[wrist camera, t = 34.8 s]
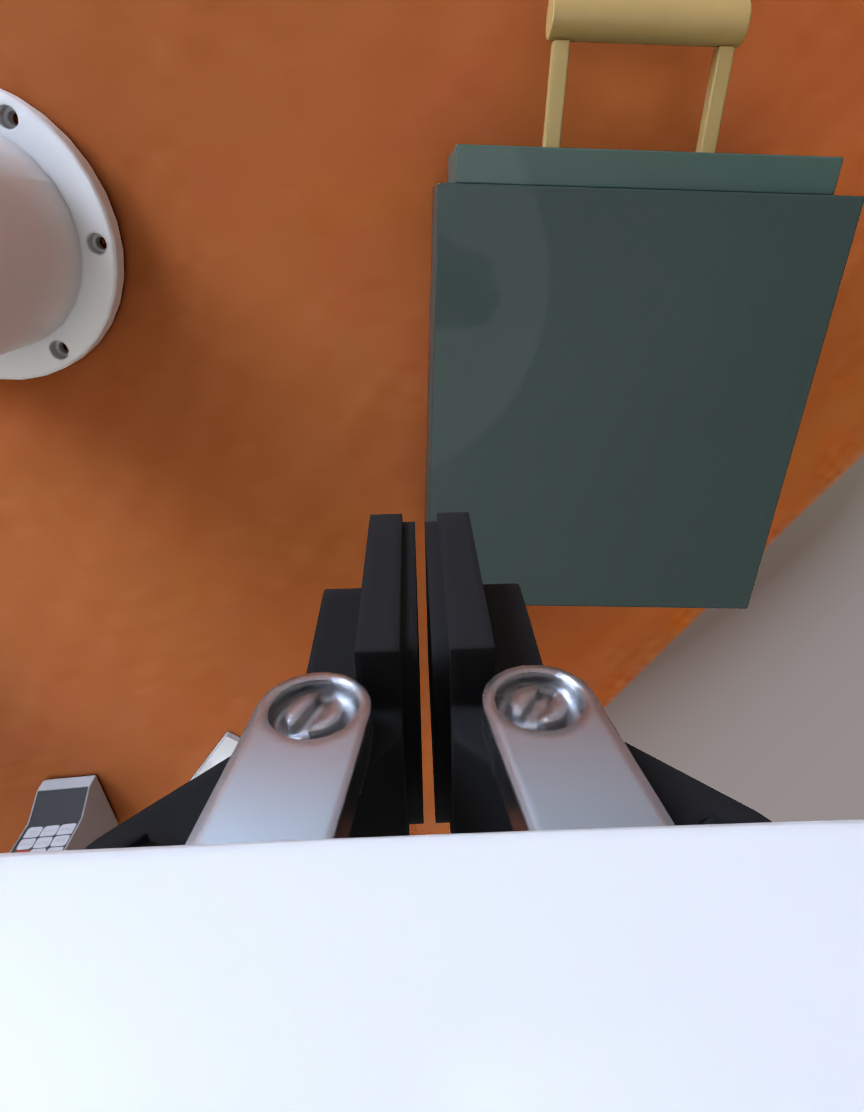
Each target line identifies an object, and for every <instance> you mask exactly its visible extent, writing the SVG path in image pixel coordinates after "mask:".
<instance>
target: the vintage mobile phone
mask: <svg viewBox="0 0 864 1112" xmlns="http://www.w3.org/2000/svg"><path fill="white" fill-rule="evenodd" d="M117 826H118V822H117V819H116V817H115V815H114V813H113V811H112V809H111V807H110V805H109V802H108V800H107V798H106V796H105V794H104V792H103V790H102V787H101V785H100V783H99V781H98V779H97V777H96V775H92V776H81V777H71V778H60V779H50V780H45V781H43V782H42V784H41V785H40V787H39V789H38V790H37V793H36V796H35V800H34V803H33V807H32V811H31V814H30V818H29V821H28V824H27V826H26V827H25V829H24V831H23V832H22V834H21V835H20V837H19V838H18V840H17V842H16V843H15V845H14V846H13V848H12V850H11V851H10V853H19V852H41V851H63V850H83V849H84V848H86V847H87V846H88V845H90V844H91V843H92V842H93V841H95V840H96V839H97V838H99V837H100V836H102V835H104V834H105V833H107V832H108V831H110V830H112V829H113V828H115V827H117Z"/></svg>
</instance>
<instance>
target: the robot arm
mask: <svg viewBox="0 0 864 1112" xmlns="http://www.w3.org/2000/svg"><path fill="white" fill-rule="evenodd" d="M15 113H17V116H18V125H16V124H15V122H14V120H13V115H14V114H15ZM101 237H103V238H104V239H105V241H106V243H107V247H106V249H105V248H103V247H102V246H101V244H100V238H101ZM123 282H124V257H123V247H122V242H121V237H120V232H119V228H118V223H117V220H116V217H115V215H114V212H113V209H112V207H111V204H110V202H109V199H108V196H107V194H106V192H105V190H104V188H103V187H102V185H101V183H100V181H99V180H98V178H97V176H96V174H95V173H94V171H93V169H92V167H91V166H90V164H89V163H88V161H87V160H86V159H85V158H84V156H83V155H82V154H81V153H80V151H79V150H78V149H77V148H76V146H75V145H74V144H73V142H72V141H71V140H70V139H69V138H68V137H67V136H66V135H65V134H64V133H63V132H62V131H61V130H60V129H59V128H58V127H57V126H56V125H55V124H53V123H52V122H51V121H50V120H49V119H48V118H47V117H46V116H45V115H44V114H42V113H41V112H39V111H38V110H36V109H35V108H33V107H32V106H31V105H29V104H28V103H26V102H25V101H23V100H22V99H20V98H19V97H17V96H15V95H13V94H11V93H9V92H7V91H5V90H2V89H0V379H13V380H24V379H30V378H36V377H41V376H46V375H49V374H51V373H54V372H56V371H59V370H61V369H64V368H66V367H68V366H70V365H71V364H73V363H75V362H77V361H78V360H80V359H82V358H84V357H85V356H86V355H87V354H88V353H89V352H90V351H91V350H92V349H93V348H94V347H96V346H97V345H98V344H99V343H100V341H101V340H102V338H103V337H104V335H105V334H106V332H107V331H108V329H109V328H110V326H111V325H112V323H113V320H114V317H115V315H116V312H117V310H118V307H119V304H120V301H121V295H122V288H123ZM63 343H64V344H65V345H66V346H67V348H68V351H66V350H65V349H64V347H63ZM425 552H426V591H427V630H428V665H429V688H430V710H431V732H432V754H433V775H434V797H435V819H436V823H447V822H450V830H451V834H433V835H409V824H421V823H424V820H423V782H422V744H421V706H420V669H419V637H418V607H417V577H416V547H415V522H403V521H402V514H380V515H370V520H369V529H368V538H367V546H366V555H365V563H364V572H363V581H362V588H353V589H326V590H325V591H324V594H323V598H322V602H321V607H320V612H319V617H318V621H317V626H316V631H315V636H314V640H313V645H312V650H311V655H310V659H309V664H308V669H307V673H306V674H304V675H300V676H295V677H293V678H290V679H288V680H286V681H284V682H281V683H279V684H278V685H276V686H275V687H274V688H272V689H271V690H270V691H268V692H267V693H266V694H265V695H264V697H263V698H262V699H261V701H260V702H259V703H258V705H257V707H256V709H255V711H254V713H253V714H252V716H251V718H250V720H249V722H248V724H247V726H246V728H245V730H244V732H243V734H242V736H241V738H240V740H239V741H238V743H237V745H236V747H235V749H234V751H233V753H232V755H231V756H230V757H228V758H226V759H225V760H223V761H221V762H220V763H218V764H217V765H215V766H213V767H212V768H210V769H209V770H207V771H205V772H204V773H202V774H200V775H199V776H197V777H196V778H194V779H192V780H191V781H189V782H188V783H186V784H184V785H183V786H181V787H179V788H178V789H176V790H175V791H173V792H171V793H170V794H168V795H167V796H165V797H163V798H162V799H160V800H158V801H157V802H155V803H154V804H152V805H150V806H149V807H147V808H146V809H144V810H142V811H141V812H139V813H137V814H136V815H134V816H133V817H131V818H129V819H128V820H126V821H125V822H123V823H121V824H120V825H118V826H117V827H115V828H113V829H112V830H110V831H108V832H107V833H105V834H104V835H102V836H100V837H99V838H97V839H96V840H95V841H93V842H92V843H91V844H90V845H88V846H87V847H86V848H84V849H83V850H63V851H41V852H19V853H0V1112H864V819H856V820H855V819H854V820H825V821H794V822H772V821H770V820H768V819H767V818H766V817H764V816H763V815H761V814H760V813H758V812H756V811H755V810H753V809H751V808H749V807H747V806H745V805H743V804H741V803H739V802H737V801H736V800H734V799H732V798H730V797H728V796H726V795H724V794H722V793H720V792H718V791H716V790H715V789H713V788H711V787H709V786H707V785H705V784H703V783H701V782H700V781H698V780H696V779H694V778H692V777H690V776H688V775H686V774H684V773H682V772H681V771H679V770H676V769H675V768H673V767H671V766H669V765H667V764H665V763H663V762H662V761H660V760H658V759H656V758H654V757H652V756H650V755H648V754H646V753H644V752H643V751H641V750H639V749H637V748H635V747H633V746H631V745H629V744H627V743H625V742H624V741H623V739H622V738H621V736H620V734H619V733H618V731H617V730H616V728H615V726H614V725H613V723H612V721H611V720H610V718H609V717H608V715H607V713H606V712H605V710H604V708H603V707H602V705H601V704H600V702H599V700H598V699H597V697H596V695H595V694H594V692H593V691H592V690H591V689H590V688H589V686H588V685H587V684H586V683H585V682H584V681H582V680H581V679H579V678H578V677H576V676H575V675H573V674H572V673H569V672H566V671H564V670H561V669H558V668H555V667H549V666H543V664H542V661H541V657H540V654H539V650H538V647H537V644H536V640H535V637H534V633H533V630H532V626H531V623H530V619H529V616H528V613H527V609H526V606H525V602H524V599H523V595H522V592H521V588H520V586H519V584H518V583H508V584H483V582H482V577H481V572H480V567H479V562H478V557H477V552H476V547H475V541H474V536H473V531H472V526H471V521H470V516H469V512H447V513H437V521H425Z"/></svg>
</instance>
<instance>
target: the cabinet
mask: <svg viewBox="0 0 864 1112" xmlns="http://www.w3.org/2000/svg"><path fill="white" fill-rule="evenodd" d="M863 202H864V197H863V196H839V195H808V194H777V193H746V192H714V191H683V190H652V189H621V188H589V187H558V186H527V185H496V184H465V183H439V184H437V185H436V186H435V187H434V188H433V218H432V257H431V297H430V337H429V377H428V417H427V457H426V497H425V521H437V513H447V512H469V516H470V521H471V526H472V531H473V536H474V541H475V547H476V552H477V557H478V562H479V567H480V572H481V577H482V582H483V584H508V583H518V584H519V586H520V588H521V592H522V595H523V599H524V602H525V605H543V606H612V607H680V608H747V607H748V604H749V600H750V596H751V593H752V590H753V586H754V582H755V579H756V576H757V572H758V569H759V565H760V562H761V558H762V555H763V551H764V548H765V544H766V541H767V537H768V534H769V530H770V527H771V523H772V520H773V516H774V513H775V509H776V506H777V502H778V499H779V495H780V492H781V488H782V485H783V481H784V478H785V474H786V471H787V467H788V464H789V461H790V457H791V454H792V450H793V447H794V443H795V440H796V436H797V433H798V429H799V426H800V422H801V419H802V415H803V412H804V408H805V405H806V401H807V398H808V394H809V391H810V387H811V384H812V380H813V377H814V373H815V370H816V366H817V363H818V359H819V356H820V352H821V349H822V345H823V342H824V338H825V335H826V331H827V328H828V324H829V321H830V317H831V314H832V311H833V307H834V304H835V300H836V297H837V293H838V290H839V286H840V283H841V279H842V276H843V272H844V269H845V265H846V262H847V258H848V255H849V251H850V248H851V244H852V241H853V237H854V234H855V230H856V227H857V223H858V220H859V216H860V213H861V209H862V206H863ZM425 554H426V552H425ZM426 603H427V591H426Z"/></svg>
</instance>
